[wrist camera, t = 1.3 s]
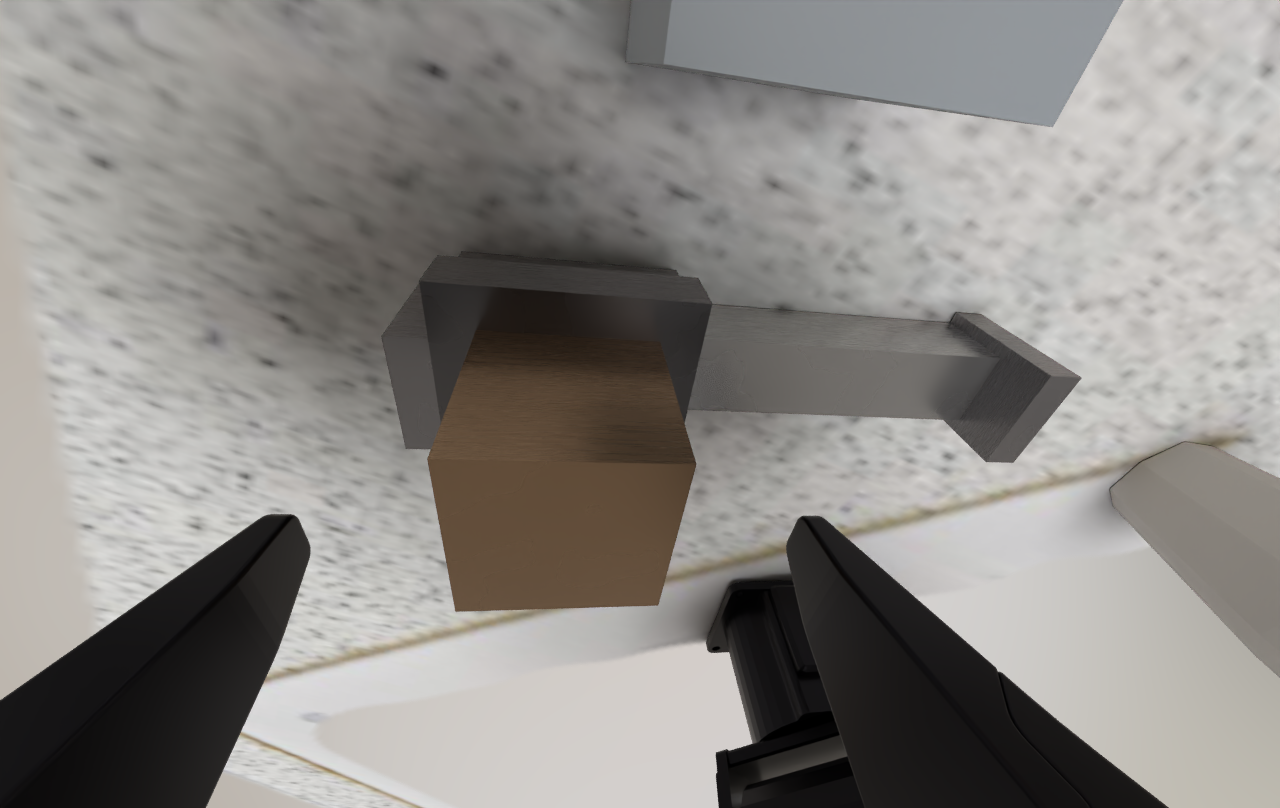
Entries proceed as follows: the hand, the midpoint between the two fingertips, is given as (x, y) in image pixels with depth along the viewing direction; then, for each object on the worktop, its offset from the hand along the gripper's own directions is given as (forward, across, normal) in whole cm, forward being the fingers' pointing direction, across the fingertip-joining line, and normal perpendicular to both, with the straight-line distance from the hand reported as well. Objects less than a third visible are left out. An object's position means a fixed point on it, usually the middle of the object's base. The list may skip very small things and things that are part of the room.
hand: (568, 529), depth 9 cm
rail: (+8, -5, 0) cm, 9 cm away
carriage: (+8, 0, 0) cm, 8 cm away
